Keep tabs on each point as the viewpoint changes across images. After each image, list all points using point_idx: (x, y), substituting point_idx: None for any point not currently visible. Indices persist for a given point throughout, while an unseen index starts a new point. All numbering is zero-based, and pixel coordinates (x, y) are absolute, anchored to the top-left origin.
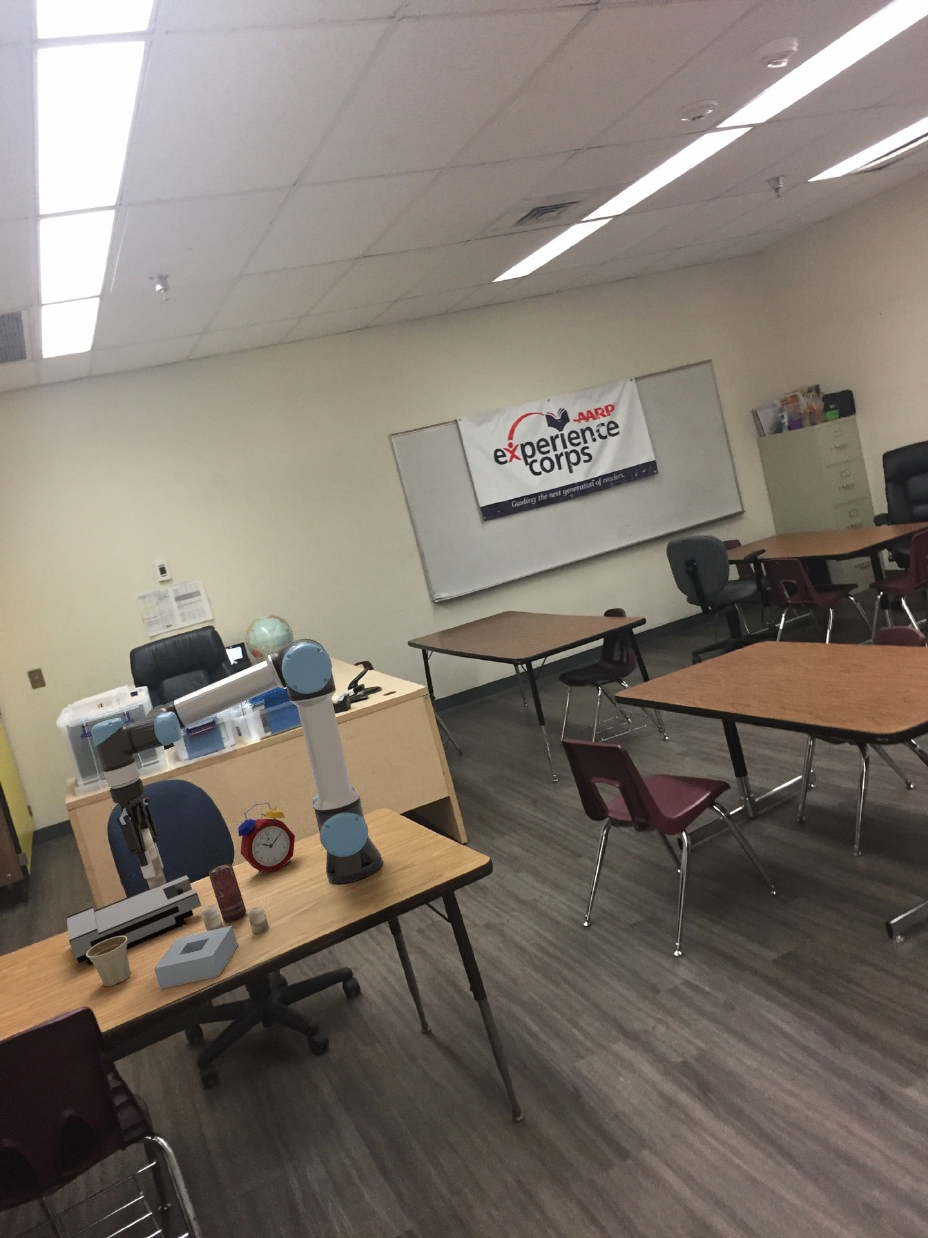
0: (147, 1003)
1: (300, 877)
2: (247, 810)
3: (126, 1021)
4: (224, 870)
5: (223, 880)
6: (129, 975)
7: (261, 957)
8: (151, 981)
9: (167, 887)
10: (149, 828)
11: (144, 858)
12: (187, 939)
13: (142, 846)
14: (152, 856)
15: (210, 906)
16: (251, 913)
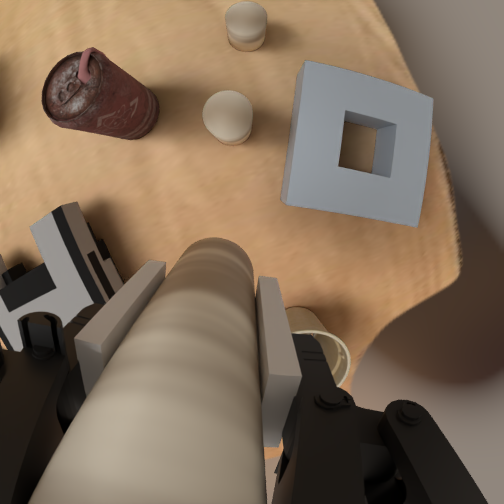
0: (429, 233)
1: (43, 31)
2: None
3: (458, 256)
4: (100, 60)
5: (119, 76)
6: (299, 307)
7: (379, 33)
8: (351, 249)
9: (5, 303)
10: (5, 469)
11: (319, 366)
12: (314, 170)
13: (352, 432)
14: (239, 320)
15: (208, 113)
16: (259, 22)
